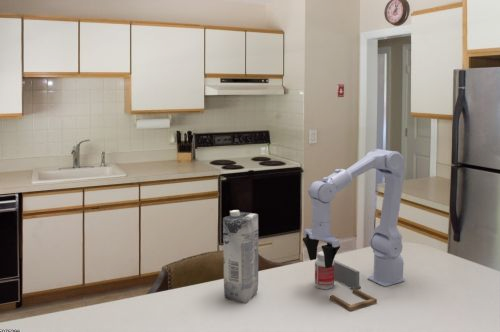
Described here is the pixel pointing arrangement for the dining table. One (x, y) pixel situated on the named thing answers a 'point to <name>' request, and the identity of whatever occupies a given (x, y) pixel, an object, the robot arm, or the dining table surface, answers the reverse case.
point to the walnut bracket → (356, 306)
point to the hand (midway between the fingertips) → (320, 263)
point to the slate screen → (346, 275)
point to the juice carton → (240, 255)
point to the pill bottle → (323, 273)
